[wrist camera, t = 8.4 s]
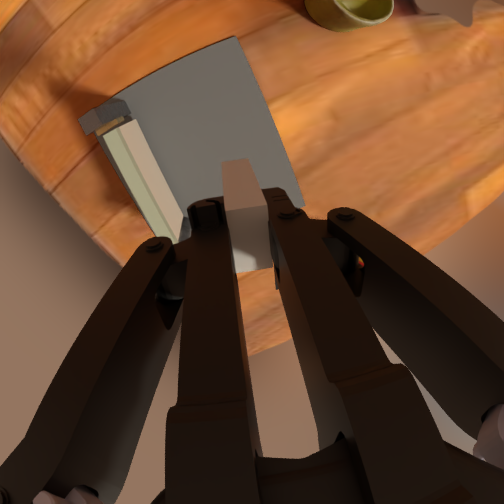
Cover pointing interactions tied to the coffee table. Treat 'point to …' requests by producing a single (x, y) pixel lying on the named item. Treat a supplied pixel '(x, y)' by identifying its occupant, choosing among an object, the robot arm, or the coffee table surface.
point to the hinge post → (185, 229)
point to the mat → (206, 125)
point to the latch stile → (104, 117)
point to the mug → (349, 13)
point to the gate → (145, 179)
